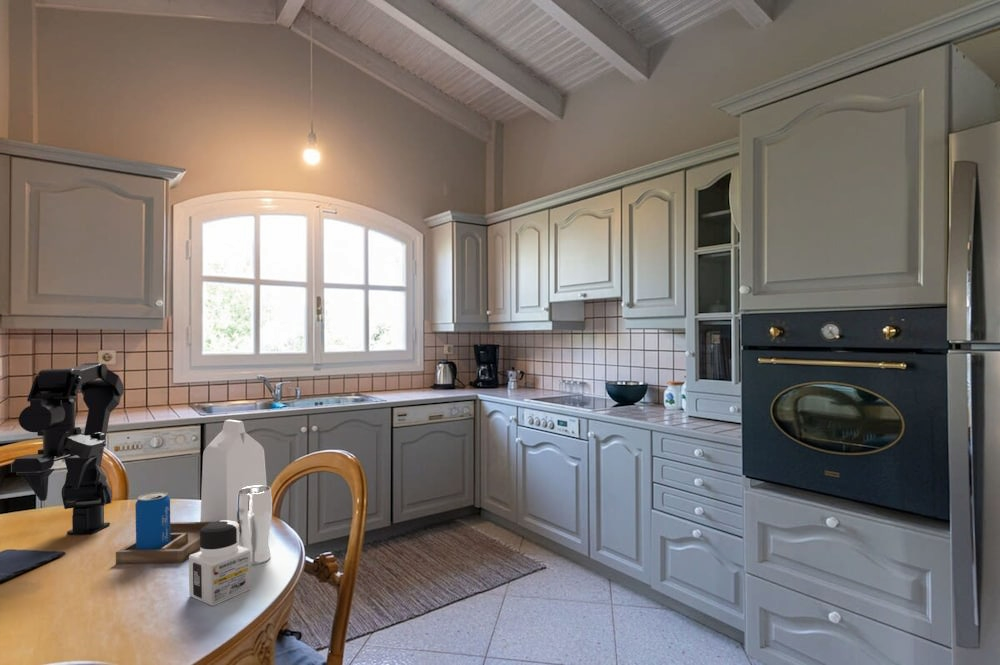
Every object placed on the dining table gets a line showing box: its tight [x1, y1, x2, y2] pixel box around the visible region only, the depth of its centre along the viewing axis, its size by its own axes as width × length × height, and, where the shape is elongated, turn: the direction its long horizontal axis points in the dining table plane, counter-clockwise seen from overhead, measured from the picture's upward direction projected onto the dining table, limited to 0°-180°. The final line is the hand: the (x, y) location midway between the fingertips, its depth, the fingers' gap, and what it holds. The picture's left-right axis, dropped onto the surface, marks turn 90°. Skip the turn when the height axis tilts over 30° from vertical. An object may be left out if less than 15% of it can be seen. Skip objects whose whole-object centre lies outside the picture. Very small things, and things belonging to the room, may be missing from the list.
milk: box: [199, 419, 268, 523], centre depth 142 cm, size 12×12×26 cm
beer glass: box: [237, 485, 273, 566], centre depth 118 cm, size 7×7×15 cm
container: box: [188, 520, 252, 607], centre depth 103 cm, size 8×8×13 cm
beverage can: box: [135, 491, 171, 550], centre depth 121 cm, size 6×6×12 cm
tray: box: [115, 521, 212, 565], centre depth 125 cm, size 18×14×3 cm
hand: (60, 494), depth 123 cm, fingers open, 9 cm apart
